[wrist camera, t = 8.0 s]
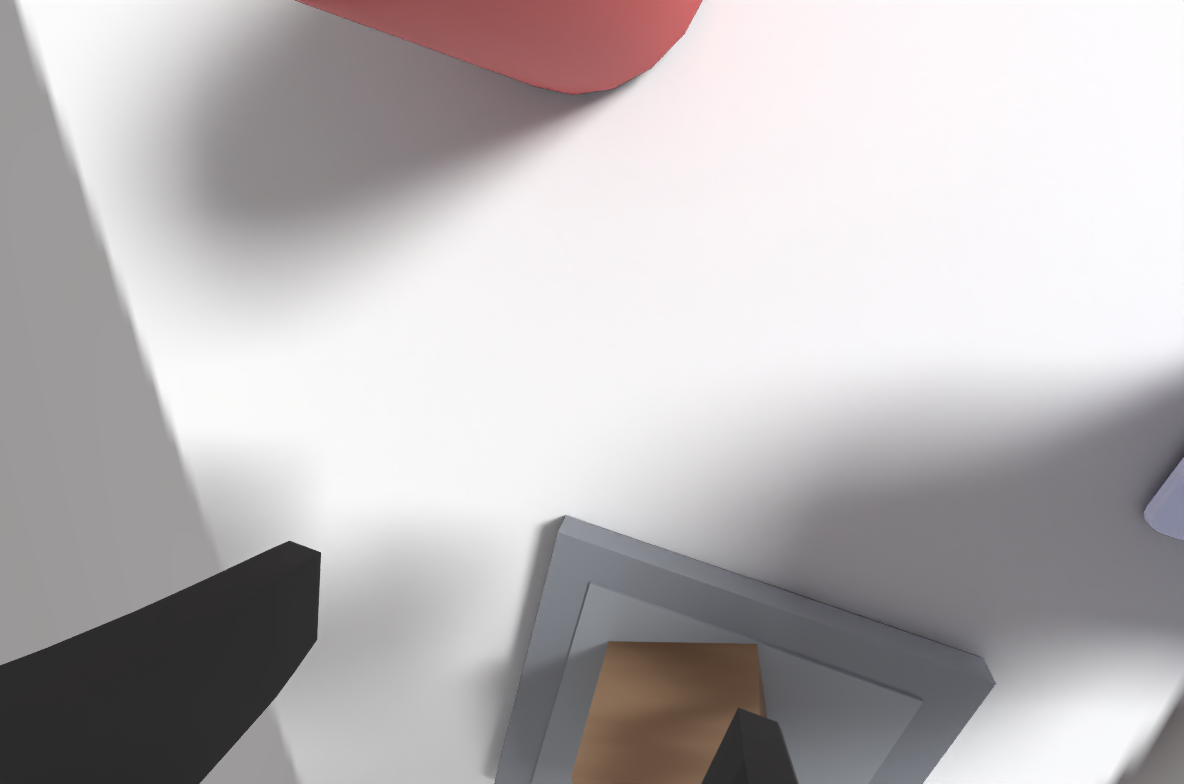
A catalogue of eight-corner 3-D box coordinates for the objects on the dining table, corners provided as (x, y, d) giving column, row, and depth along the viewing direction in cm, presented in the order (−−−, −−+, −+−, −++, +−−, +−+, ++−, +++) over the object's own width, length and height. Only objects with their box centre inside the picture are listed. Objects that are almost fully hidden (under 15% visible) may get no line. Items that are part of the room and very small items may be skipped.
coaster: (983, 658, 19) (997, 686, 18) (816, 897, 24) (819, 928, 23) (565, 515, 20) (557, 533, 19) (501, 768, 26) (491, 793, 25)
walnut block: (757, 643, 19) (761, 794, 15) (772, 756, 21) (780, 924, 16) (608, 641, 20) (570, 777, 16) (633, 747, 22) (605, 898, 18)
